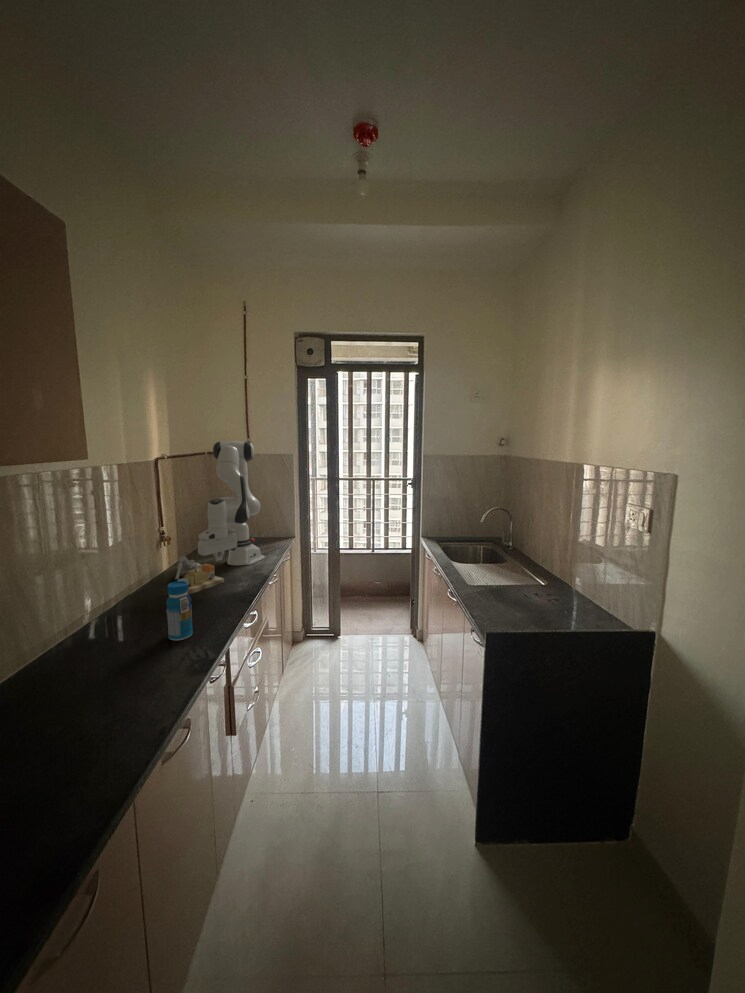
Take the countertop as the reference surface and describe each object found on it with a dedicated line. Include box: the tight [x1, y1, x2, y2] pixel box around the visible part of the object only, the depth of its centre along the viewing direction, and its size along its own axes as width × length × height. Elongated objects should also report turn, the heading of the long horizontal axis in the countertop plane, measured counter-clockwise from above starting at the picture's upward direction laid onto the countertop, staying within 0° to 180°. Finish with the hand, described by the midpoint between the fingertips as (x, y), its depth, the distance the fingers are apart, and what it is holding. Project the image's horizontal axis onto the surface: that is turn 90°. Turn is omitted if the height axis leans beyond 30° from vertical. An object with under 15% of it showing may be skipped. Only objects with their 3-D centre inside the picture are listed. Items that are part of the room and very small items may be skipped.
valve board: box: [187, 575, 225, 596], centre depth 194 cm, size 22×12×2 cm, turn 149°
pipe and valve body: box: [178, 567, 216, 586], centre depth 193 cm, size 18×5×8 cm, turn 149°
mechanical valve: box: [170, 555, 197, 583], centre depth 201 cm, size 10×18×15 cm
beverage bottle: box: [165, 581, 194, 642], centre depth 144 cm, size 8×8×20 cm
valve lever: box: [193, 562, 215, 573], centre depth 190 cm, size 13×3×3 cm, turn 59°
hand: (219, 560), depth 192 cm, fingers closed
